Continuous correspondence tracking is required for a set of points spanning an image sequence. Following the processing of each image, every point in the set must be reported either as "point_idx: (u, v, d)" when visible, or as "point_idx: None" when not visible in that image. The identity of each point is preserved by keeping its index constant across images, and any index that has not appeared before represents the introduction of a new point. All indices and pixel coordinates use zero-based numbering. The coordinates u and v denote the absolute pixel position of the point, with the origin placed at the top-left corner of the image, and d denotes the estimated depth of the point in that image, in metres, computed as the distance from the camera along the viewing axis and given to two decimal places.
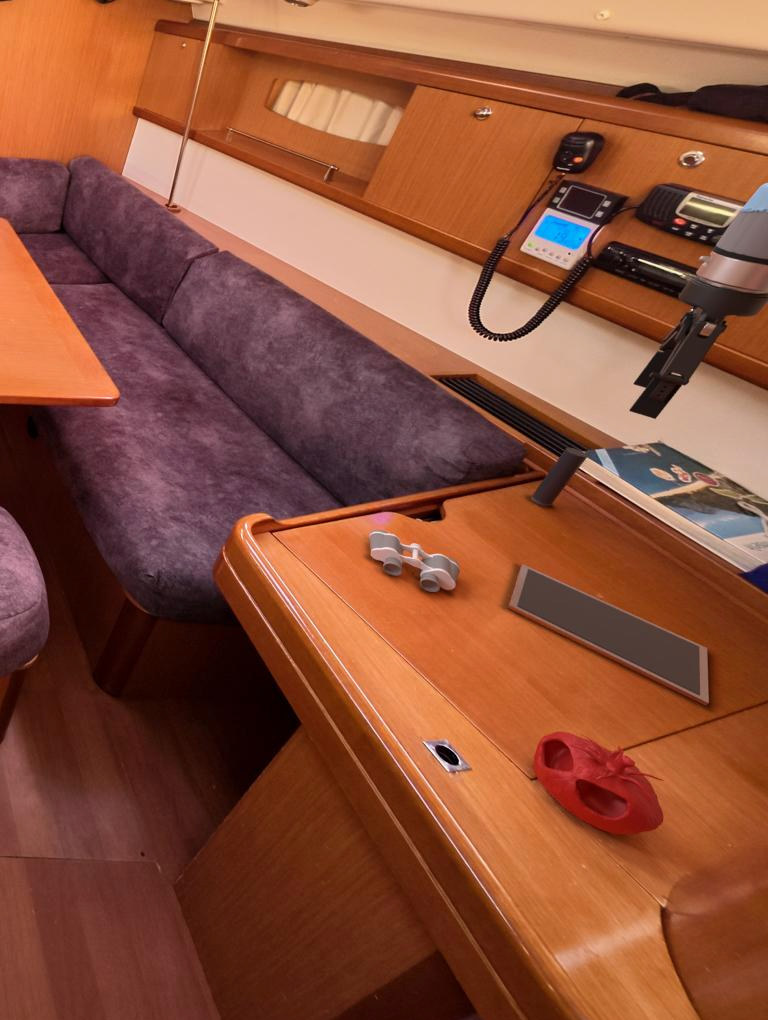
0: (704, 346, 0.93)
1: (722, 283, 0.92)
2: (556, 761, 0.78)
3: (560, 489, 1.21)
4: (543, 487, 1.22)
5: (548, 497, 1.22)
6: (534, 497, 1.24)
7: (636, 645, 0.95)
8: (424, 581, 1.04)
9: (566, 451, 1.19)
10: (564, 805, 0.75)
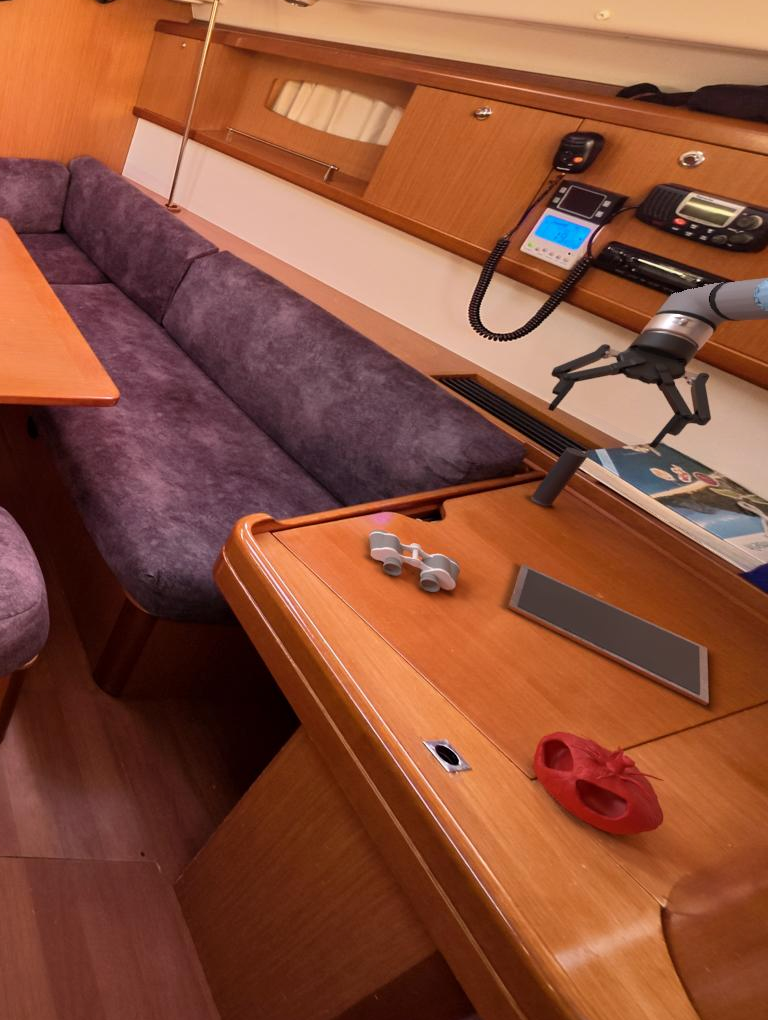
0: None
1: (699, 344, 1.18)
2: (556, 761, 0.78)
3: (560, 489, 1.21)
4: (543, 487, 1.22)
5: (548, 497, 1.22)
6: (534, 497, 1.24)
7: (636, 645, 0.95)
8: (424, 581, 1.04)
9: (566, 451, 1.19)
10: (564, 805, 0.75)
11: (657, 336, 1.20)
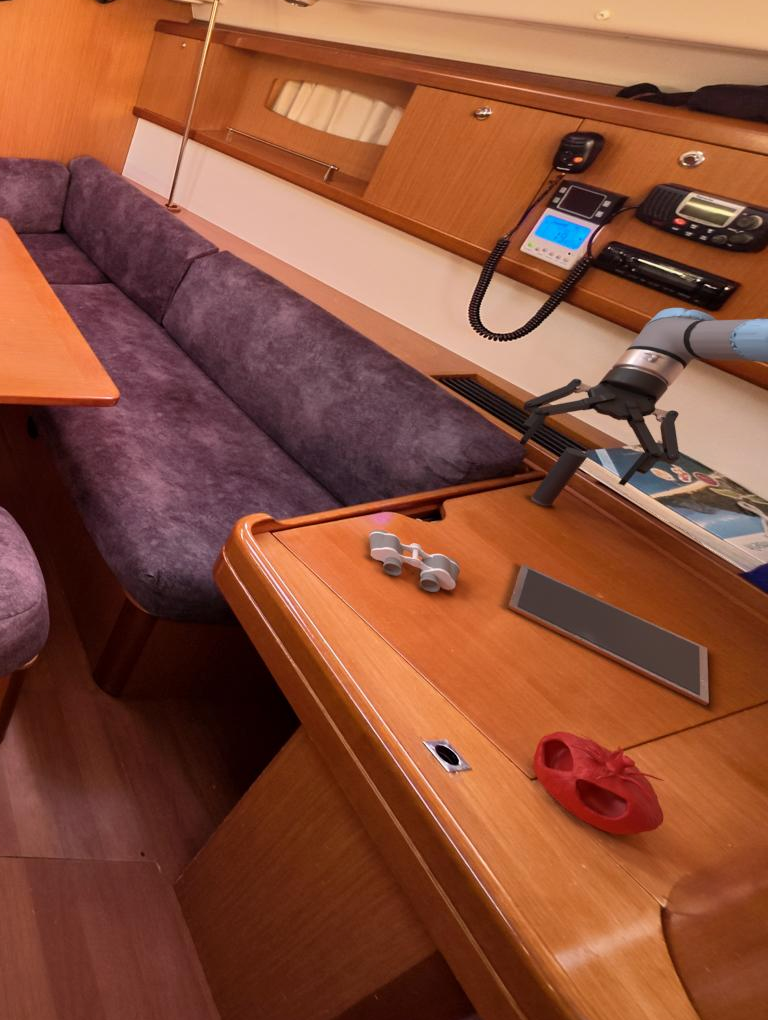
0: None
1: (669, 381, 1.17)
2: (556, 761, 0.78)
3: (560, 489, 1.21)
4: (543, 487, 1.22)
5: (548, 497, 1.22)
6: (534, 497, 1.24)
7: (636, 645, 0.95)
8: (424, 581, 1.04)
9: (566, 451, 1.19)
10: (564, 805, 0.75)
11: (627, 372, 1.20)
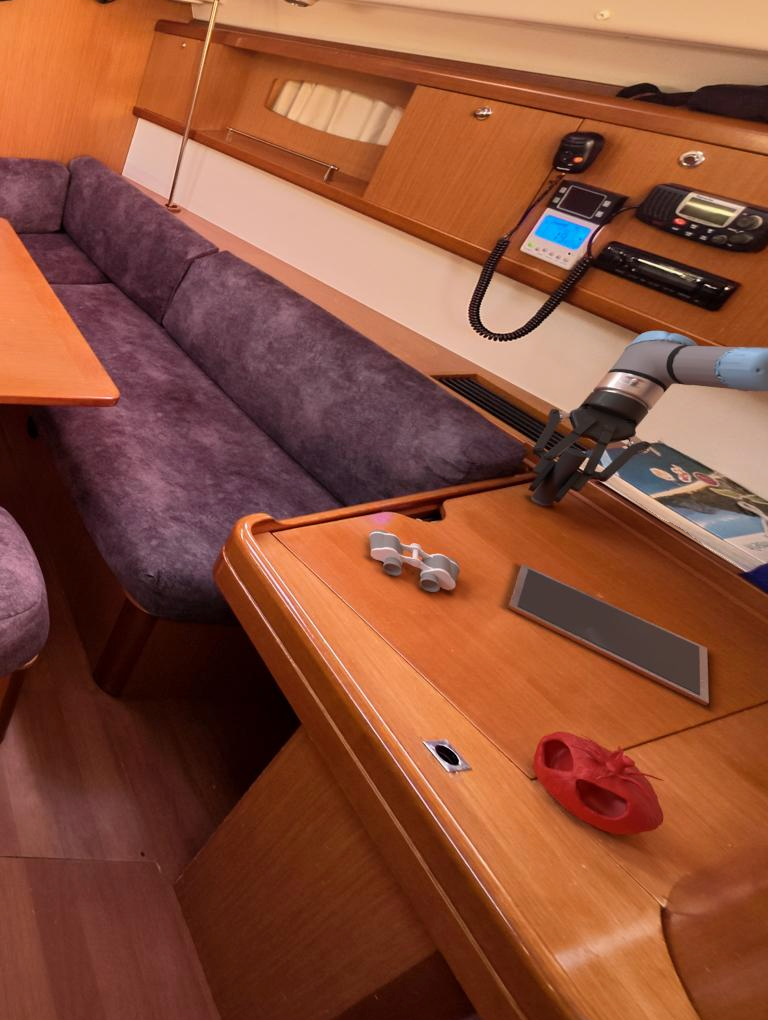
0: (630, 458, 1.16)
1: (650, 405, 1.17)
2: (556, 761, 0.78)
3: (560, 489, 1.21)
4: (543, 487, 1.22)
5: (548, 497, 1.22)
6: (534, 497, 1.24)
7: (636, 645, 0.95)
8: (424, 581, 1.04)
9: (566, 451, 1.19)
10: (564, 805, 0.75)
11: (608, 395, 1.19)
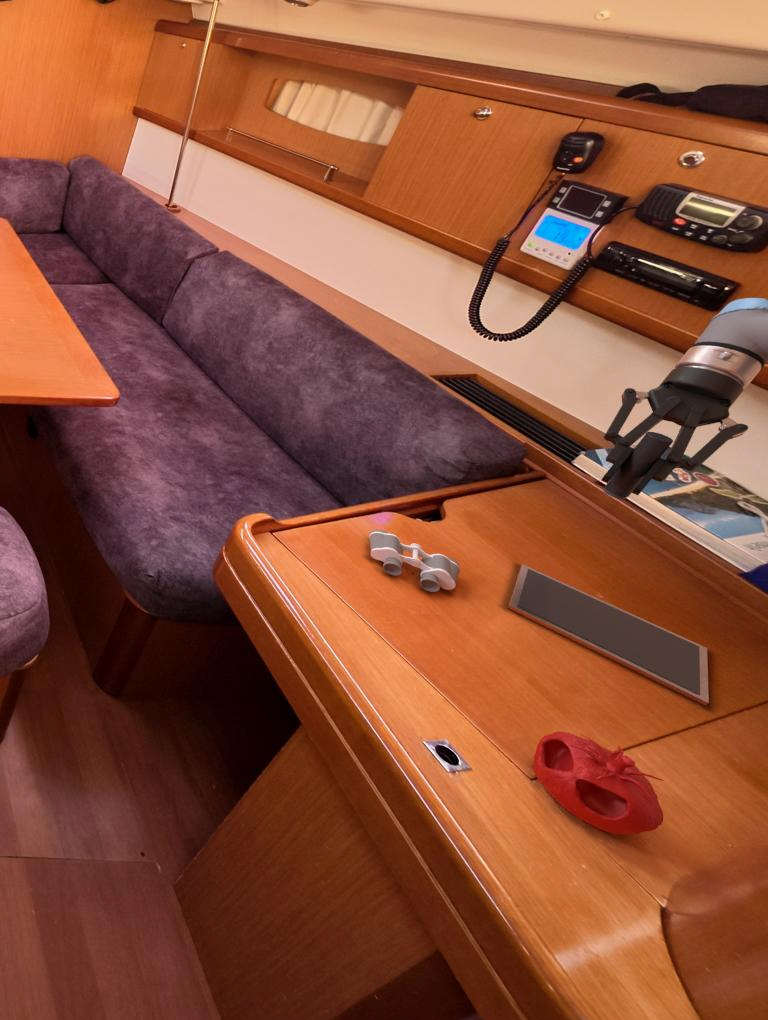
0: None
1: (745, 382, 1.01)
2: (556, 761, 0.78)
3: (639, 479, 1.05)
4: (618, 477, 1.07)
5: (625, 488, 1.06)
6: (607, 489, 1.08)
7: (636, 645, 0.95)
8: (424, 581, 1.04)
9: (647, 435, 1.03)
10: (564, 805, 0.75)
11: (695, 372, 1.04)
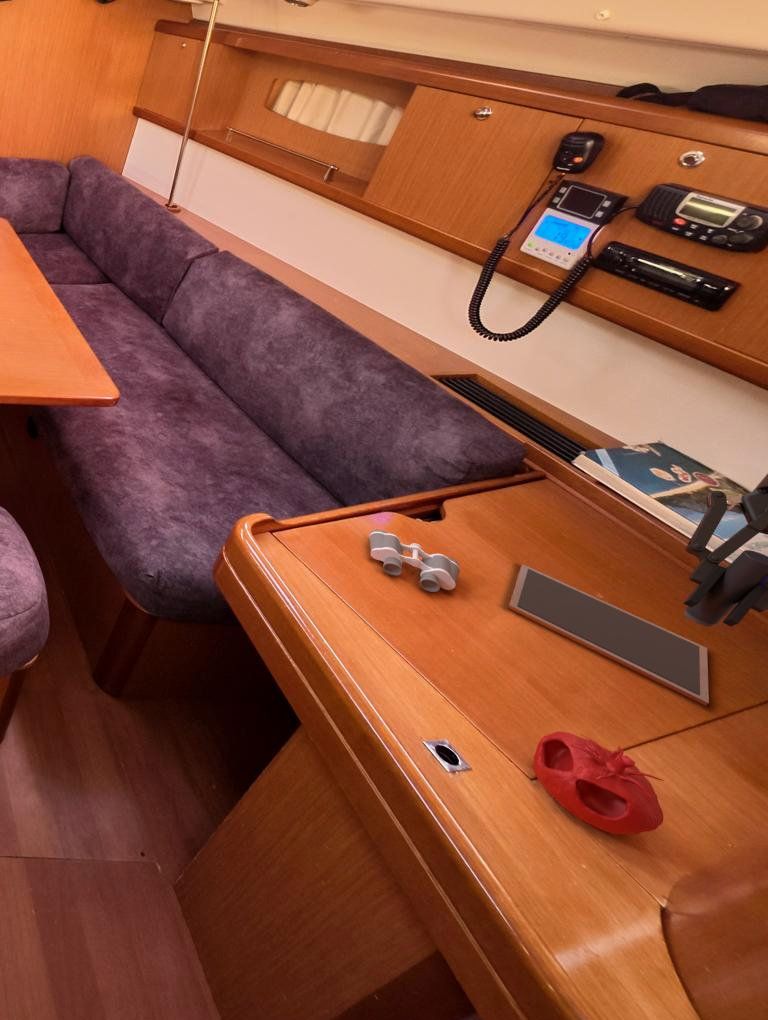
0: None
1: None
2: (556, 761, 0.78)
3: (732, 606, 0.87)
4: (705, 601, 0.88)
5: (713, 615, 0.88)
6: (690, 613, 0.90)
7: (636, 645, 0.95)
8: (424, 581, 1.04)
9: (745, 556, 0.85)
10: (564, 805, 0.75)
11: None
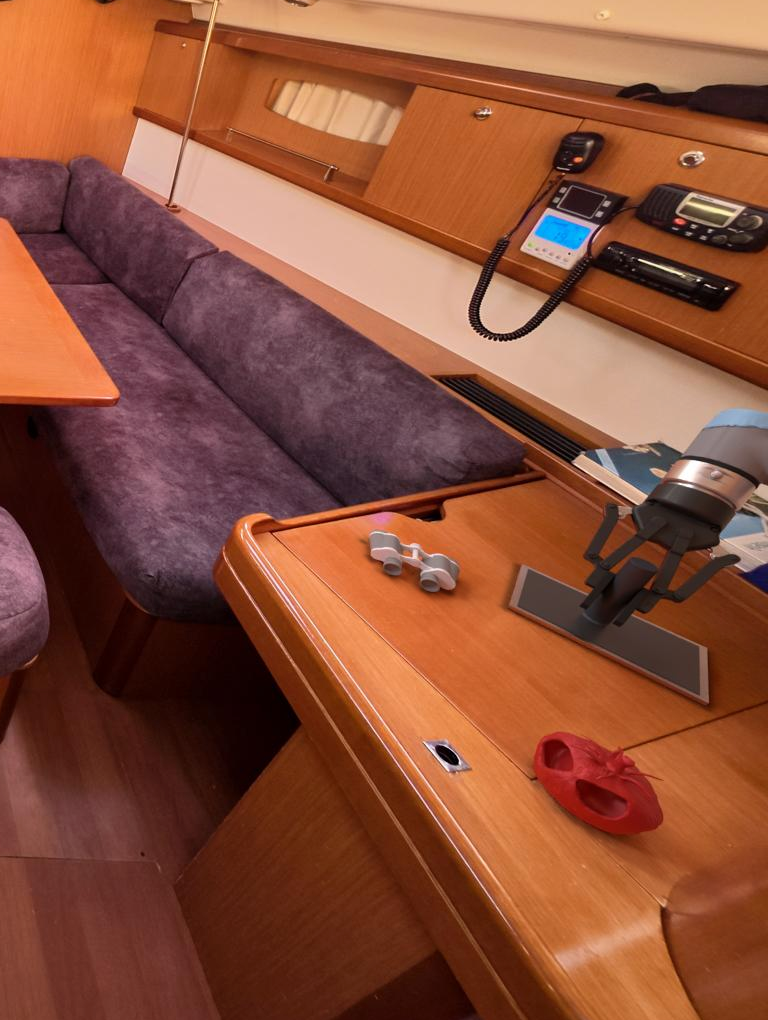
0: None
1: (738, 506, 0.92)
2: (556, 761, 0.78)
3: (622, 608, 0.95)
4: (599, 603, 0.97)
5: (606, 616, 0.97)
6: (587, 614, 0.98)
7: (636, 645, 0.95)
8: (424, 581, 1.04)
9: (630, 562, 0.93)
10: (564, 805, 0.75)
11: (683, 491, 0.94)
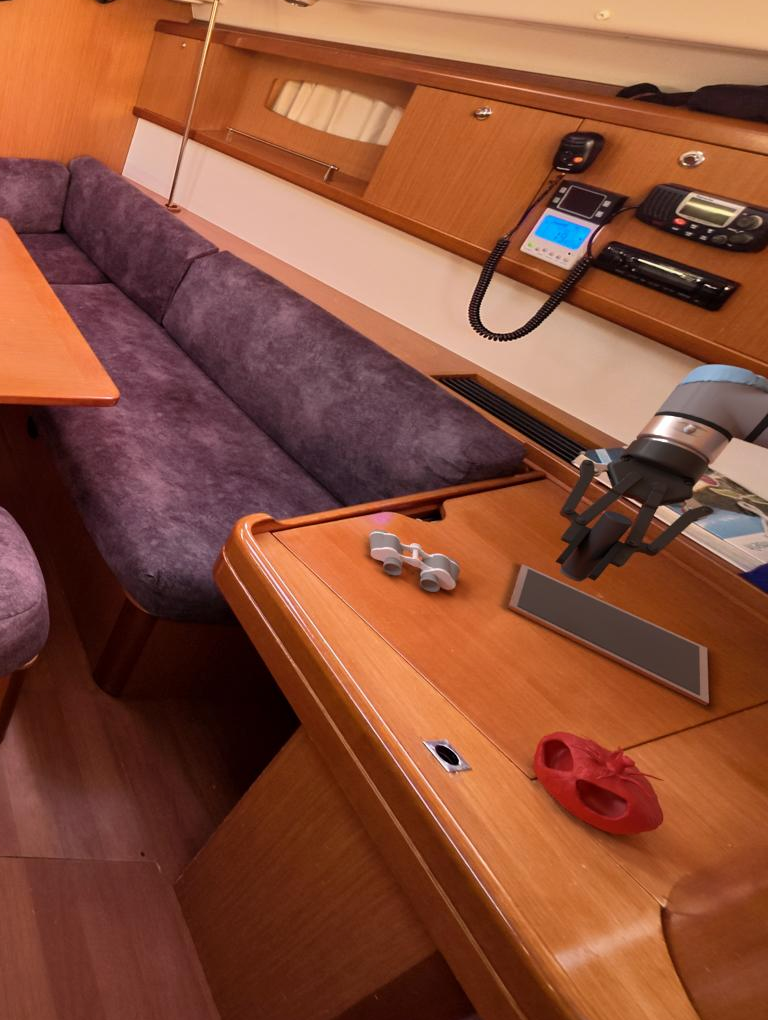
0: None
1: (711, 459, 0.92)
2: (556, 761, 0.78)
3: (597, 562, 0.96)
4: (575, 558, 0.98)
5: (582, 571, 0.97)
6: (563, 569, 0.99)
7: (636, 645, 0.95)
8: (424, 581, 1.04)
9: (605, 516, 0.94)
10: (564, 805, 0.75)
11: (657, 446, 0.95)
